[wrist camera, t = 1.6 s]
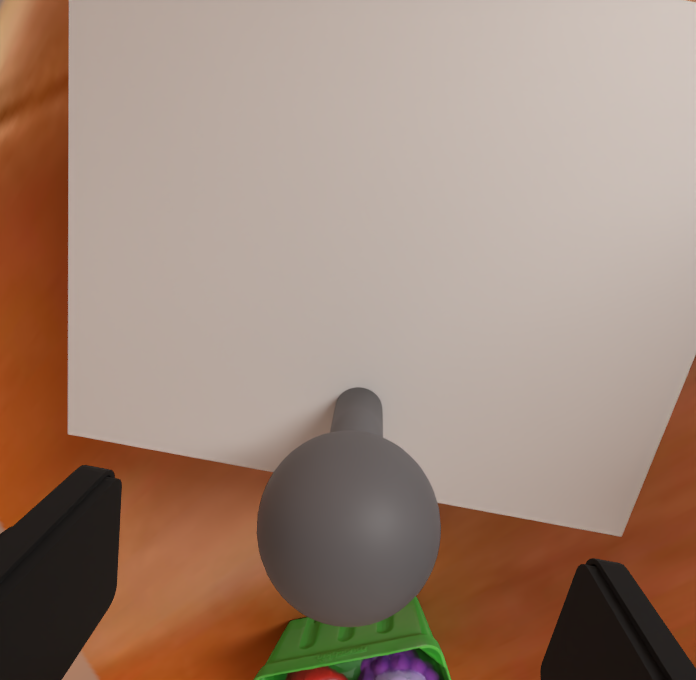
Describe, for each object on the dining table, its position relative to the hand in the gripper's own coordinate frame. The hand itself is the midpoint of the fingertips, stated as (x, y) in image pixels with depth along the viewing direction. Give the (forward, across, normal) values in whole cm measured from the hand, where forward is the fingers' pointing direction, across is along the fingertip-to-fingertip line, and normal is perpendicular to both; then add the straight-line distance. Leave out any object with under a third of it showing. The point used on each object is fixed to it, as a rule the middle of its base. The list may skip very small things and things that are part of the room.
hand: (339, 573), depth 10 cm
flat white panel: (+8, 0, -6) cm, 9 cm away
